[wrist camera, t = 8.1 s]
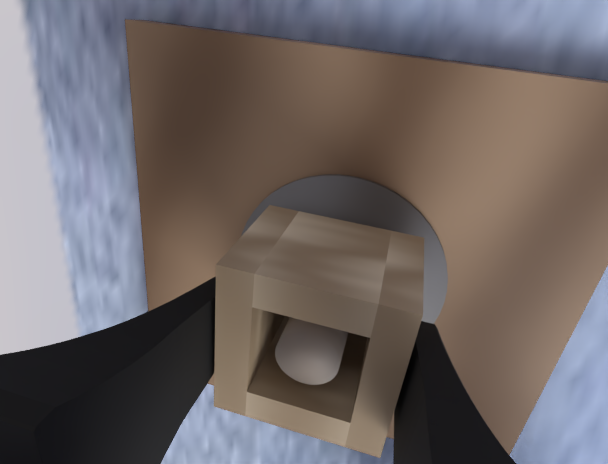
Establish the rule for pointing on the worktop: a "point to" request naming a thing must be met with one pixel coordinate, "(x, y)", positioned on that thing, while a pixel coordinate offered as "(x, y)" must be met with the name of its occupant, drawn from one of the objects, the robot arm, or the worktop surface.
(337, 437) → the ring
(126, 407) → the robot arm
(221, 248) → the post board
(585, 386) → the worktop surface
